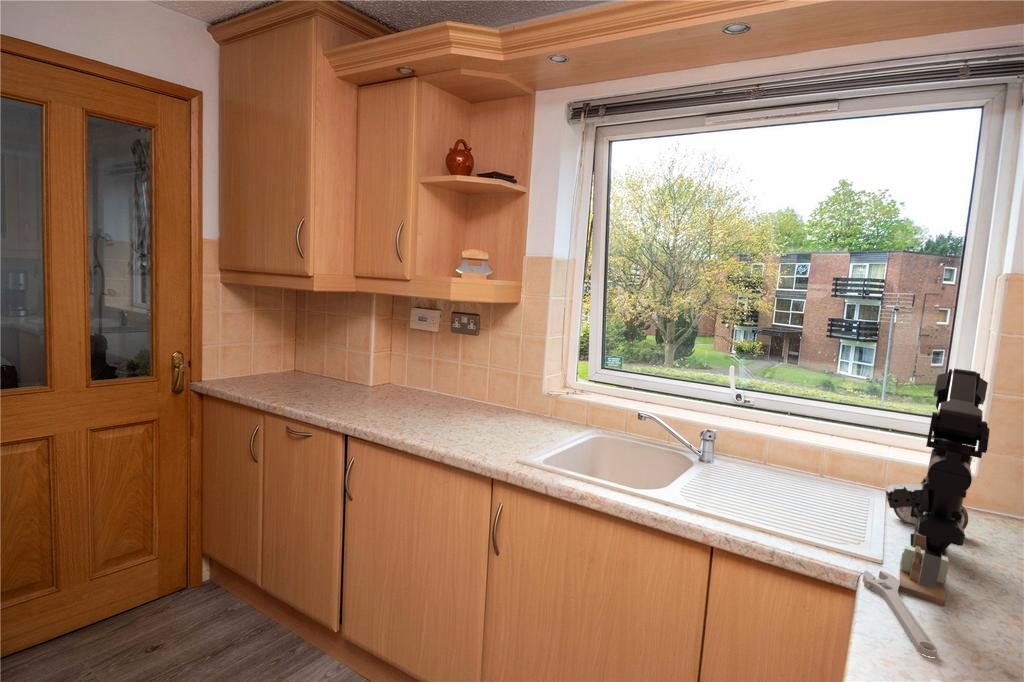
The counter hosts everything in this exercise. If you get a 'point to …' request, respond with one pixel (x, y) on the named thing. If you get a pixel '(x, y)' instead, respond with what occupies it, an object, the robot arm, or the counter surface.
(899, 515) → the tin
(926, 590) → the stand
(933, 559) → the shaft
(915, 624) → the adjustable wrench
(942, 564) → the spacer
